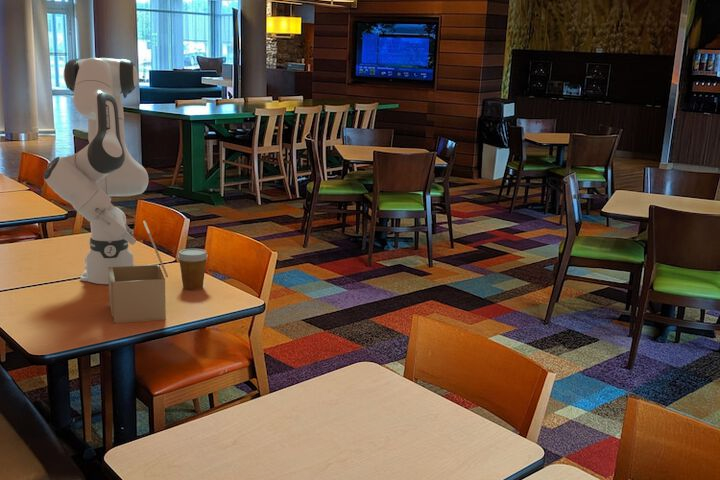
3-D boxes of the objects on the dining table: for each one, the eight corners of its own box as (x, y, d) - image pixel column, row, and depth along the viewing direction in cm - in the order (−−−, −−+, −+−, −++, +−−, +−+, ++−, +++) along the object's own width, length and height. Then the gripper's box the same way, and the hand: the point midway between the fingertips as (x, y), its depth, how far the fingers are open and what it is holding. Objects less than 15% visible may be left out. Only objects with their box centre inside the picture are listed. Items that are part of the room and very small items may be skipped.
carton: (109, 305, 225) (108, 267, 222) (159, 302, 230) (158, 264, 227) (112, 323, 210) (110, 282, 207) (165, 319, 215) (165, 279, 213)
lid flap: (142, 221, 222) (144, 220, 222) (160, 263, 227) (162, 262, 227) (147, 233, 208) (150, 232, 208) (166, 277, 213) (168, 276, 213)
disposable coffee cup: (193, 281, 252) (193, 246, 250) (213, 287, 247) (213, 251, 244) (171, 287, 245) (171, 251, 242) (192, 293, 239) (191, 257, 237)
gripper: (105, 205, 200) (144, 239, 206) (102, 191, 218) (138, 223, 224) (88, 222, 199) (127, 255, 205) (86, 206, 218) (123, 238, 224)
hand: (133, 238), depth 215 cm, fingers open, 8 cm apart
